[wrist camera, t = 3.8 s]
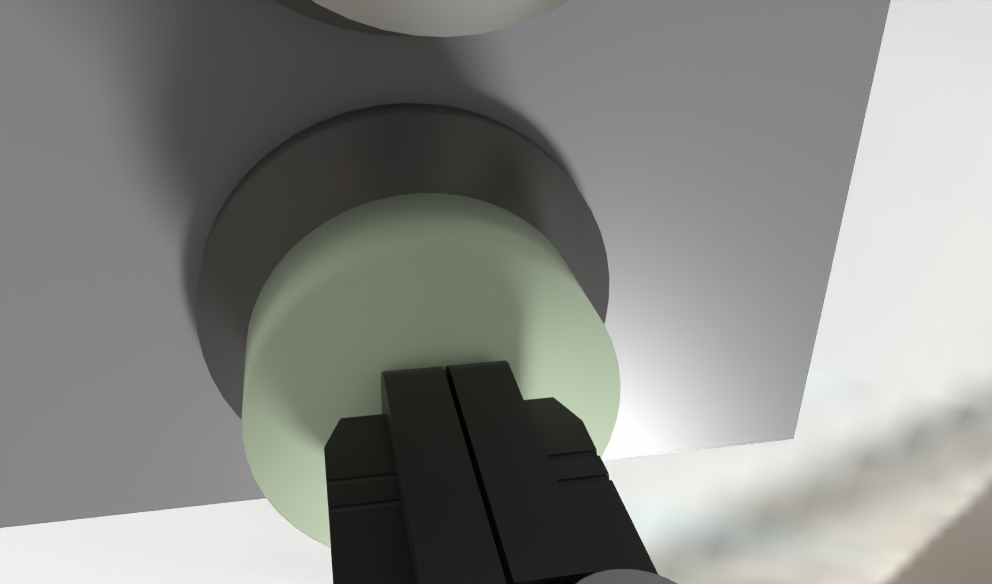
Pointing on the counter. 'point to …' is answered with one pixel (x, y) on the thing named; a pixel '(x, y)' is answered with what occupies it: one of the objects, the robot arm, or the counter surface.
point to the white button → (441, 14)
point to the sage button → (409, 331)
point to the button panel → (391, 172)
